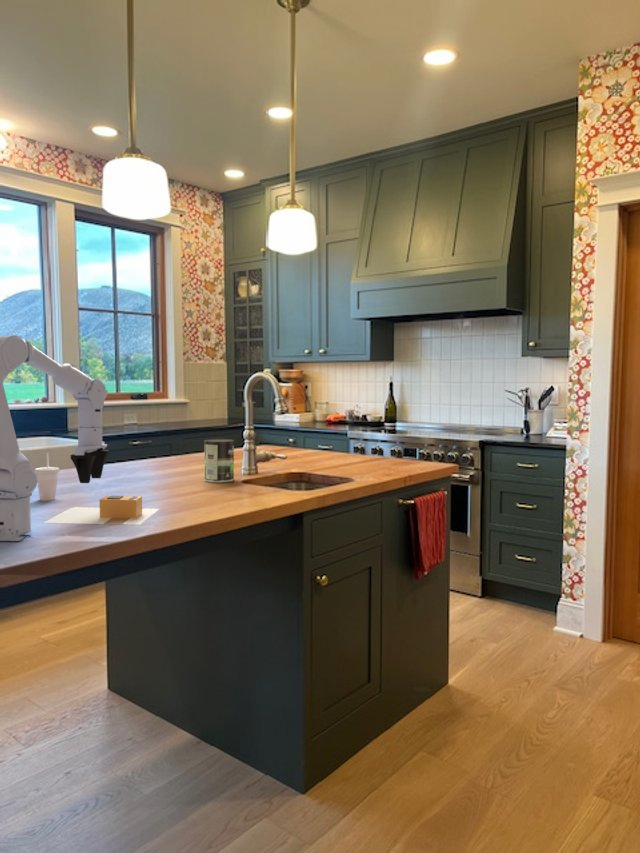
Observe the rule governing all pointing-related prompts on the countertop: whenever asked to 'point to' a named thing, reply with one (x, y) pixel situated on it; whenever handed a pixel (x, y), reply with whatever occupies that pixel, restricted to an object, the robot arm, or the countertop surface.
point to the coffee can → (219, 460)
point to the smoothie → (47, 481)
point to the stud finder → (120, 506)
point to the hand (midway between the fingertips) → (90, 480)
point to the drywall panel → (97, 517)
